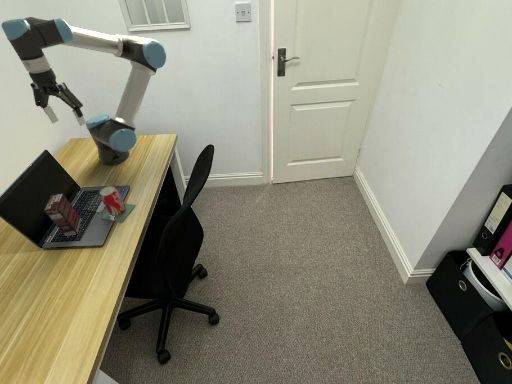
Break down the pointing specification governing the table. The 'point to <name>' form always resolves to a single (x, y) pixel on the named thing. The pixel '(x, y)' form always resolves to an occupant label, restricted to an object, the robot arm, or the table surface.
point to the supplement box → (63, 214)
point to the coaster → (122, 216)
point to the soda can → (112, 200)
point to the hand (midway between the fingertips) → (69, 123)
